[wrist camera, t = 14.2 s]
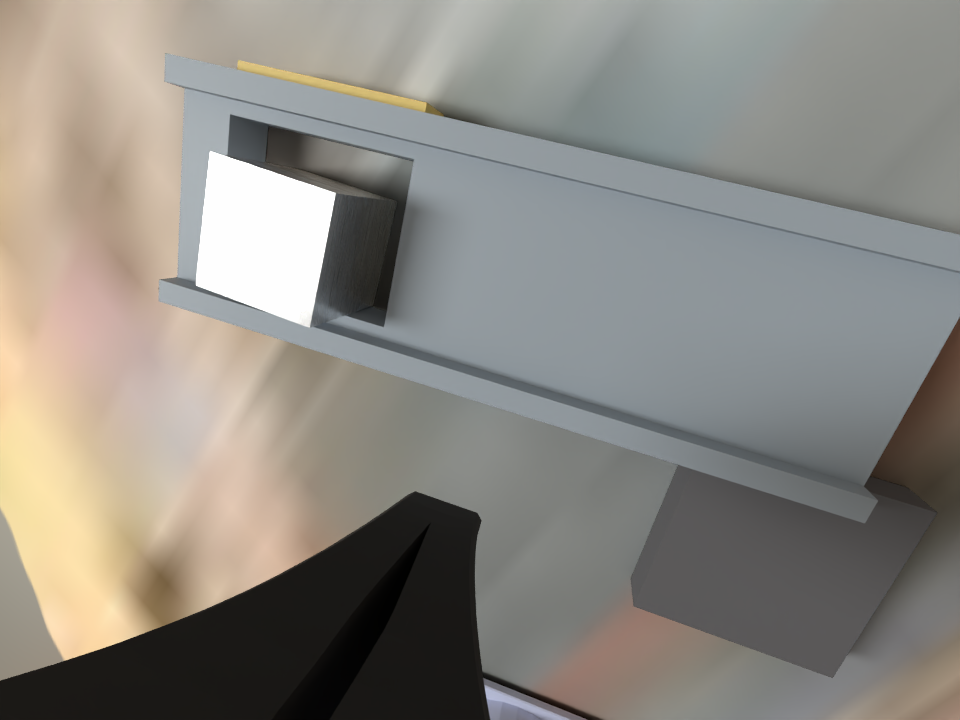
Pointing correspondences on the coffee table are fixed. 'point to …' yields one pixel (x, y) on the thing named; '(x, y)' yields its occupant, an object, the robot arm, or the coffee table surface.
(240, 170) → the block
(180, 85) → the rail
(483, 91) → the coffee table surface
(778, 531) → the pad
